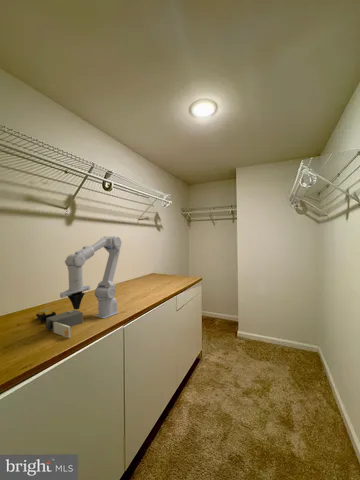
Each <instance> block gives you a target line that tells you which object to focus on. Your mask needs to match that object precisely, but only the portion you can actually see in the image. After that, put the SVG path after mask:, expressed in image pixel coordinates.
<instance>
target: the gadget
mask: <svg viewBox="0 0 360 480" xmlns="http://www.w3.org/2000/svg"><path fill="white" fill-rule="evenodd" d="M55 315H57V313H56V312H55V311H53V309H52V308H49V309H43V310H40V311H38V313H36V316H35V317H36V319H37V321H39V322H41V323H46V322H47V319H46V318H48V317H51V316H55Z"/></svg>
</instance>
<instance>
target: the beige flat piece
mask: <svg viewBox="0 0 360 480" xmlns="http://www.w3.org/2000/svg"><path fill="white" fill-rule="evenodd" d="M71 327H72V326H71ZM71 327H70V326H67V325H64V324H61V323H58V322H53V331H52V332H53V333H54V334H57V335H60V336H62V337H64V338H67V339H69V338H71V336H72V335H71Z"/></svg>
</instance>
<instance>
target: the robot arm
mask: <svg viewBox="0 0 360 480" xmlns="http://www.w3.org/2000/svg"><path fill="white" fill-rule="evenodd" d="M121 246H122V240H121V238H120V236H118V235H113V236H111V235H110V236H106V235H105V236H103V237H100V239H99V240H97V241H96V242H94V244H92V245H91V246H89V245H84V246H82V249H79V250H78V251H77V250H76V251H74V252H75V253H74V254H69V255H68V256H66V258H65V260H64V264H65V265H66V266H67V270H68V289H67V290H65V291H63V292H60V293H59V296H60V297H59V298H63V299H64V298H66V297H68V299H69V300H70V302H71V305H72V308H73V310H76V311H78V310H79V309H80V307H81V303H82V301H83V297H84V295H85V292H86V291H91V286H90V285H85V286H84V285H83V266H84V265H85V263H86V261H88V260H89V259H91V258H92V257H93V256H94V255H95V252H97V251H98V250H101V249H102V248H104V250H105V251H106V252H108V258H107V262H106V266H105V269H104V273H103V277H102V279H101V280H100V282H99V283H98V284H97V287H96V288H95V290H94V296H95V297H96V299H97V306H98V308H97V309H98V310H97V311H98V312H97V314H95V315H94V317H97V318H101V319H107V318H110V317H111V316H115V315H118V314H119V311H118V301H117V299H116V297H115V294H116V284H114V282H113V281H114V277H115V273H116V269H117V265H118V260H119V256H120V252H121V251H120V250H121Z"/></svg>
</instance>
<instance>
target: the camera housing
mask: <svg viewBox="0 0 360 480" xmlns="http://www.w3.org/2000/svg"><path fill="white" fill-rule="evenodd" d="M83 317H84V316H83V312H82V311H80V310H76V309H71V310H68V311H65V312H62V313H58V314H56V315H55V316H51V317H48V318H46V319H47V322H45V327H46V330H47V331H48V330H49V331H51V332H53V322H58V323H61V324H64V325H67V326H70V327H74V326H77V325H80V324H81V323H83V319H84V318H83Z"/></svg>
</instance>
